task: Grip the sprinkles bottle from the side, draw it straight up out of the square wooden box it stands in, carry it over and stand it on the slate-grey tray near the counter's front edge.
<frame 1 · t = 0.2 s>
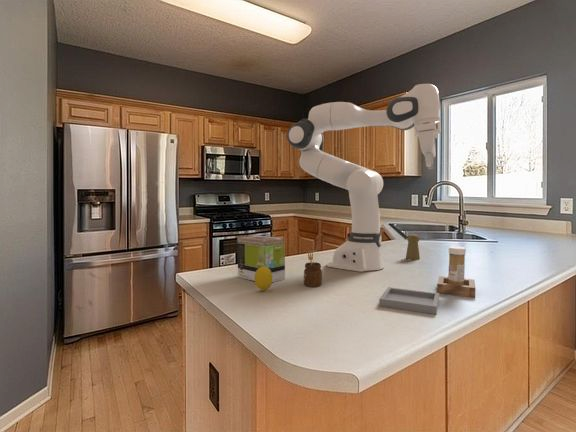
hand: (429, 167, 121), 39 cm above the countertop, tool pointing down, fingers open, 8 cm apart
lemon: (263, 291, 104), on the countertop
tray: (409, 303, 91), on the countertop
utensil holder: (312, 285, 110), on the countertop
olive tapered container: (412, 259, 150), on the countertop
square wooden box: (455, 290, 102), on the countertop
tea box: (261, 278, 119), on the countertop
sprinkles bottle: (455, 291, 102), resting in square wooden box
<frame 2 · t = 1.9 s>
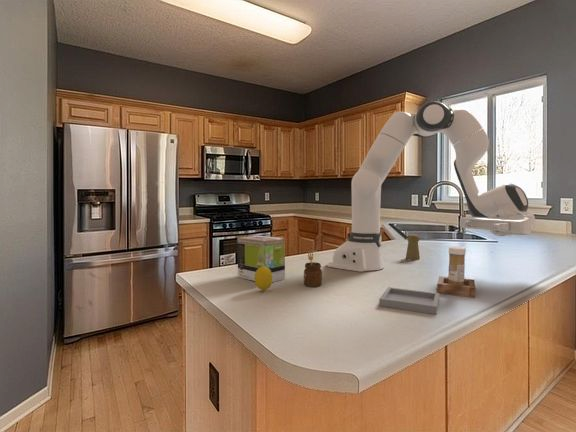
hand: (480, 225, 107), 19 cm above the countertop, tool horizontal, fingers open, 8 cm apart
nothing on the countertop moved.
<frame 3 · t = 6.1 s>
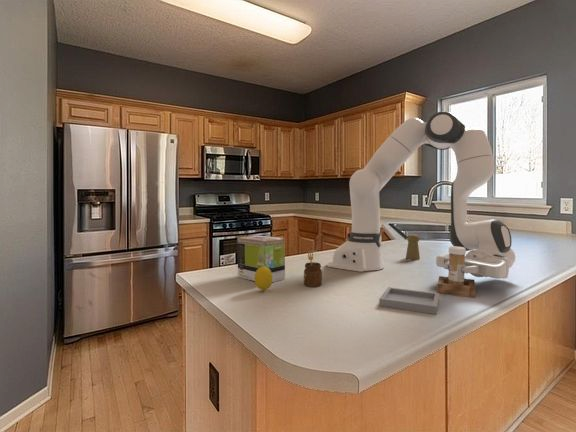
hand: (454, 268, 101), 7 cm above the countertop, tool horizontal, fingers closed on sprinkles bottle, 4 cm apart
sprinkles bottle: (455, 291, 102), resting in square wooden box, touching gripper
everything else where it was.
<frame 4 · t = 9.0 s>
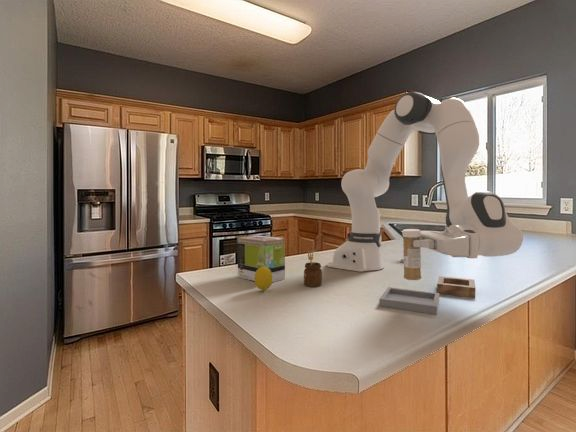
hand: (408, 241, 90), 17 cm above the countertop, tool horizontal, fingers closed on sprinkles bottle, 4 cm apart
sprinkles bottle: (412, 279, 91), point 7 cm above the countertop, touching gripper
everything else where it was.
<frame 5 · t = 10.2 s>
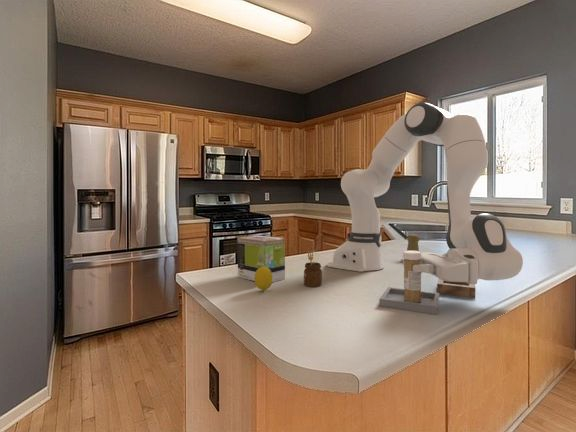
hand: (408, 265, 90), 10 cm above the countertop, tool horizontal, fingers closed on sprinkles bottle, 4 cm apart
sprinkles bottle: (412, 301, 91), point 1 cm above the countertop, touching gripper, tray
everything else where it was.
when the fingers open (9 cm above the countertop, at t = 10.8 s): sprinkles bottle stays where it is, resting on tray.
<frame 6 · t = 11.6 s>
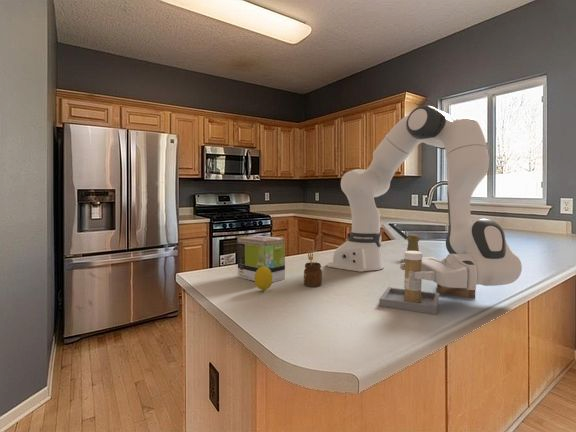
hand: (407, 270, 91), 9 cm above the countertop, tool horizontal, fingers open, 8 cm apart
sprinkles bottle: (412, 301, 91), point 1 cm above the countertop, touching tray
everything else where it was.
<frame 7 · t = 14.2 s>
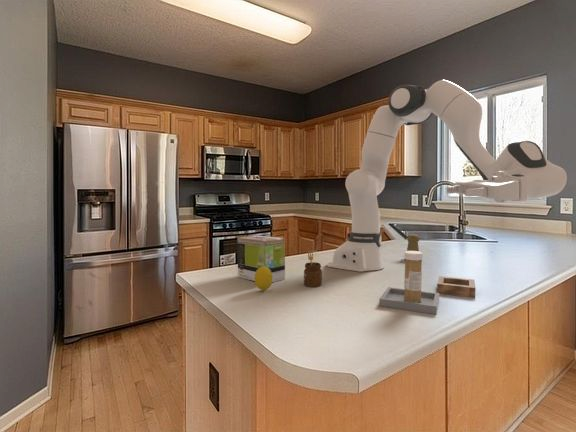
hand: (456, 191, 94), 30 cm above the countertop, tool horizontal, fingers open, 8 cm apart
nothing on the countertop moved.
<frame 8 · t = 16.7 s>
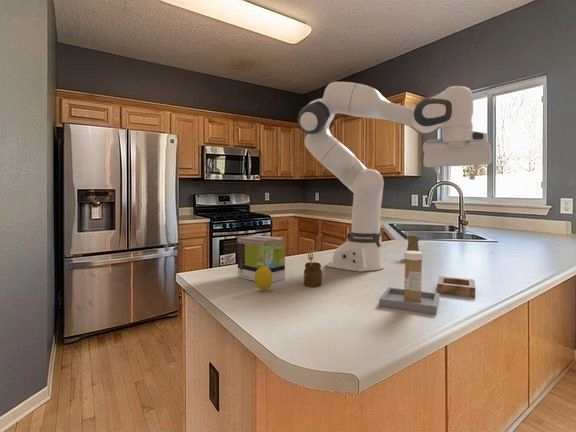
hand: (455, 179, 111), 34 cm above the countertop, tool pointing down, fingers open, 8 cm apart
nothing on the countertop moved.
at the end: sprinkles bottle inside the target area on the tray (0.7 cm from its centre), point 0.6 cm above the tray's base; sprinkles bottle tilted 0°; the gripper is holding nothing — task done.
